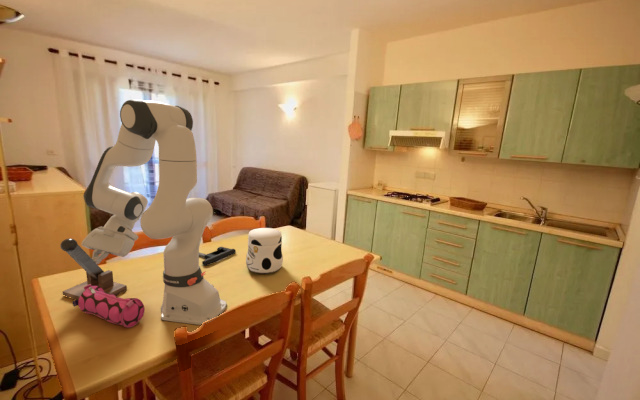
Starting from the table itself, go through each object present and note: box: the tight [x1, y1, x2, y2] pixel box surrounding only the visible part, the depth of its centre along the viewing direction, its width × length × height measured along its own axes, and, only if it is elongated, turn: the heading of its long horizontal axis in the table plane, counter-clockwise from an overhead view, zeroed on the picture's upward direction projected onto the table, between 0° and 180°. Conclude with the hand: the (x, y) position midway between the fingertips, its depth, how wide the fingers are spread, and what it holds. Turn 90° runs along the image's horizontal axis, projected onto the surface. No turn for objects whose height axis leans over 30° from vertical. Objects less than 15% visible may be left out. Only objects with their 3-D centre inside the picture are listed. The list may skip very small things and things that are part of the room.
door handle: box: [199, 246, 237, 267], centre depth 147 cm, size 3×20×16 cm
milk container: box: [245, 227, 284, 275], centre depth 136 cm, size 17×17×18 cm
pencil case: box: [72, 284, 145, 328], centre depth 94 cm, size 21×10×10 cm, turn 73°
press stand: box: [62, 269, 128, 300], centre depth 108 cm, size 16×12×8 cm
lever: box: [60, 238, 105, 282], centre depth 103 cm, size 4×4×22 cm
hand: (94, 262), depth 107 cm, fingers closed, pressing on lever
